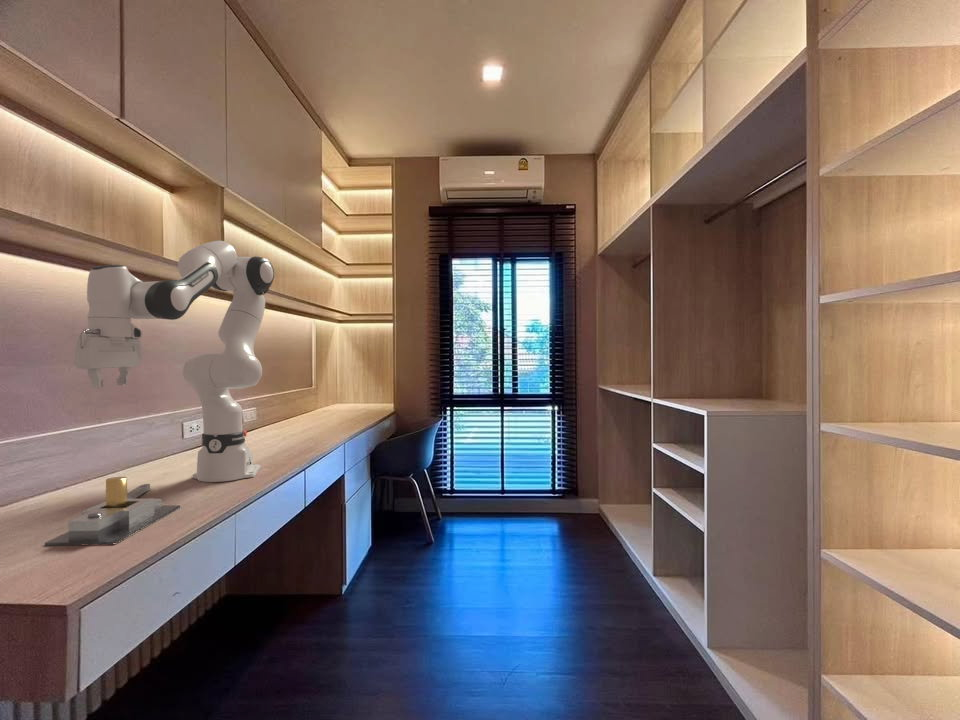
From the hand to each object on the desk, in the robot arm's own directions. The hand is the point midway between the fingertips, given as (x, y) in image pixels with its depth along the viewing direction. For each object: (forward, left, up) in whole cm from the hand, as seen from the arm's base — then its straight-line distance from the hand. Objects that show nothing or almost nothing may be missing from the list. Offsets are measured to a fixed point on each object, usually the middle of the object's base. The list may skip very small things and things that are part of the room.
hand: (110, 386), depth 132 cm
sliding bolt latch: (+10, +8, -31) cm, 34 cm away
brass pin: (+10, +7, -30) cm, 33 cm away
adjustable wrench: (-10, -1, -31) cm, 32 cm away
